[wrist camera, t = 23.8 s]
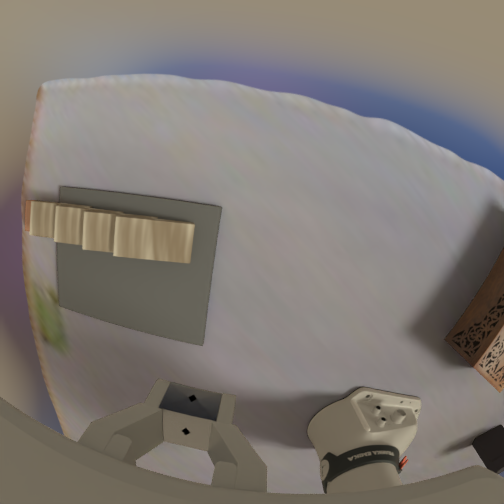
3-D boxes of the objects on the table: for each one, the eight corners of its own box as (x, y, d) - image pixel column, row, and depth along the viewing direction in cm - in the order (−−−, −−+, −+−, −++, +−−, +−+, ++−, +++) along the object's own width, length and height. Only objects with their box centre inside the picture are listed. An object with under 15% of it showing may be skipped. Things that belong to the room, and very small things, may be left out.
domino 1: (89, 207, 35) (31, 201, 32) (86, 242, 36) (29, 234, 33) (92, 206, 37) (35, 200, 34) (89, 240, 38) (33, 232, 35)
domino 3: (157, 218, 35) (84, 211, 32) (153, 256, 36) (82, 249, 33) (157, 217, 37) (87, 210, 34) (154, 253, 38) (85, 246, 35)
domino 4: (194, 224, 35) (115, 216, 32) (190, 263, 36) (113, 256, 33) (193, 222, 37) (118, 214, 34) (189, 260, 38) (115, 252, 35)
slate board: (222, 207, 37) (220, 207, 36) (203, 342, 41) (202, 346, 40) (64, 186, 38) (60, 186, 37) (62, 304, 42) (59, 306, 41)
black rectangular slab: (470, 446, 47) (491, 479, 32) (475, 436, 46) (498, 470, 31) (496, 432, 46) (518, 461, 31) (501, 422, 45) (525, 452, 30)
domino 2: (121, 213, 35) (56, 206, 32) (118, 249, 36) (54, 241, 33) (123, 211, 37) (59, 204, 34) (120, 246, 38) (57, 239, 35)
